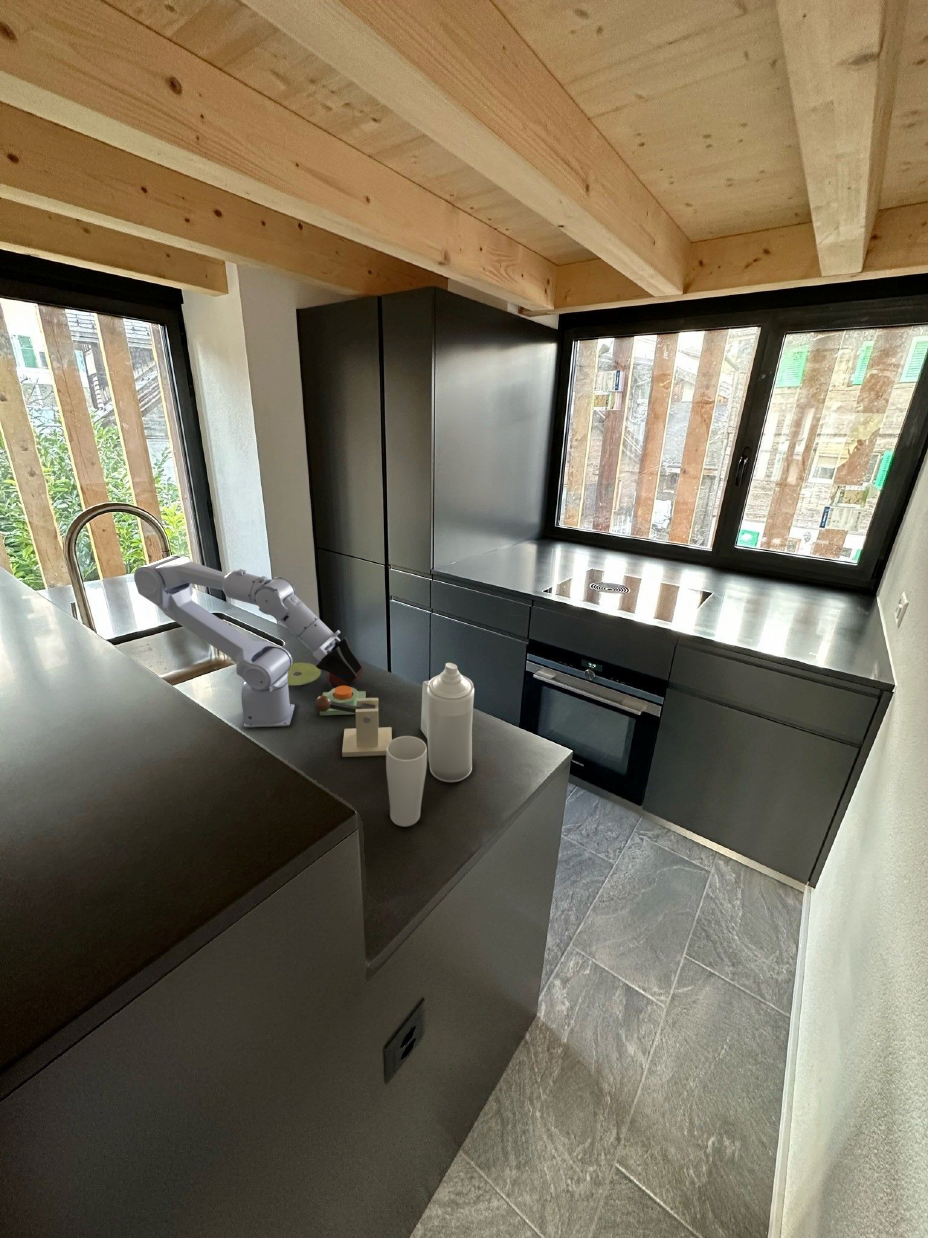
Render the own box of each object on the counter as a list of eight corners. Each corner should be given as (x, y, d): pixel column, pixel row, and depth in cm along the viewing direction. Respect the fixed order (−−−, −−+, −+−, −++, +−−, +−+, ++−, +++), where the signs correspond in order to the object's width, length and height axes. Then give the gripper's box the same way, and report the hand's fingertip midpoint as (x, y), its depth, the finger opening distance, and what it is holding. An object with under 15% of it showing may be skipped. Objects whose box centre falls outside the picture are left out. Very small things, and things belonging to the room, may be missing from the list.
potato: (320, 686, 128) (319, 664, 125) (350, 670, 136) (349, 650, 133) (341, 696, 124) (340, 674, 122) (370, 679, 132) (370, 658, 130)
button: (333, 700, 118) (333, 694, 117) (335, 691, 121) (334, 685, 121) (351, 700, 118) (351, 694, 118) (352, 690, 122) (352, 685, 121)
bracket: (342, 757, 104) (340, 716, 100) (344, 733, 111) (343, 694, 107) (392, 755, 106) (392, 715, 102) (391, 731, 113) (391, 693, 109)
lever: (312, 713, 102) (315, 699, 100) (314, 704, 104) (317, 691, 103) (371, 724, 105) (375, 711, 104) (372, 715, 108) (376, 702, 106)
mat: (314, 665, 137) (314, 659, 136) (326, 685, 128) (326, 679, 127) (270, 674, 132) (269, 667, 131) (279, 695, 123) (279, 688, 122)
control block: (319, 715, 117) (319, 704, 115) (323, 696, 124) (322, 685, 123) (364, 714, 118) (364, 703, 117) (365, 695, 125) (365, 684, 124)
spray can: (484, 786, 99) (495, 673, 89) (431, 797, 95) (436, 681, 85) (463, 749, 109) (471, 644, 99) (414, 758, 105) (417, 650, 95)
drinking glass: (418, 835, 87) (421, 764, 81) (380, 827, 88) (380, 756, 82) (428, 806, 93) (432, 739, 87) (393, 799, 94) (393, 732, 88)
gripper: (313, 619, 96) (365, 670, 98) (329, 609, 111) (374, 654, 113) (287, 645, 97) (338, 695, 99) (306, 632, 111) (351, 676, 113)
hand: (356, 675), depth 106 cm, fingers open, 7 cm apart
